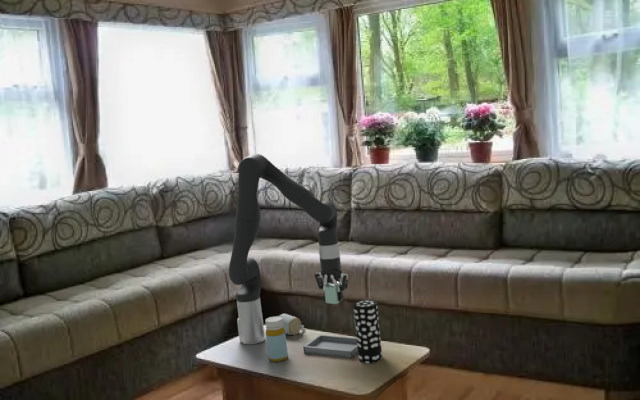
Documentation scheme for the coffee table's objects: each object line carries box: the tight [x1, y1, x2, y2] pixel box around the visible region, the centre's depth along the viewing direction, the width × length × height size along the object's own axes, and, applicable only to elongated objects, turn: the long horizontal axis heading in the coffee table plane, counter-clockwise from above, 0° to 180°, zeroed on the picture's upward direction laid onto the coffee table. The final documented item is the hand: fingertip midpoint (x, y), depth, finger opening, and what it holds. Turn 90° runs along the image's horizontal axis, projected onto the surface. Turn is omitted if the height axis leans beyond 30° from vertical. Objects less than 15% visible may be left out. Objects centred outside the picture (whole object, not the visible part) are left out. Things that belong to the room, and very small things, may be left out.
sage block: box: [323, 283, 344, 305], centre depth 242 cm, size 5×5×6 cm
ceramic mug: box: [278, 313, 305, 336], centre depth 263 cm, size 11×8×8 cm
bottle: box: [265, 315, 289, 363], centre depth 236 cm, size 7×7×15 cm
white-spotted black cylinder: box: [352, 299, 383, 364], centre depth 227 cm, size 8×8×20 cm
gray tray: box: [302, 334, 358, 359], centre depth 240 cm, size 20×13×2 cm, turn 60°
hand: (334, 300), depth 243 cm, fingers closed on sage block, 4 cm apart
